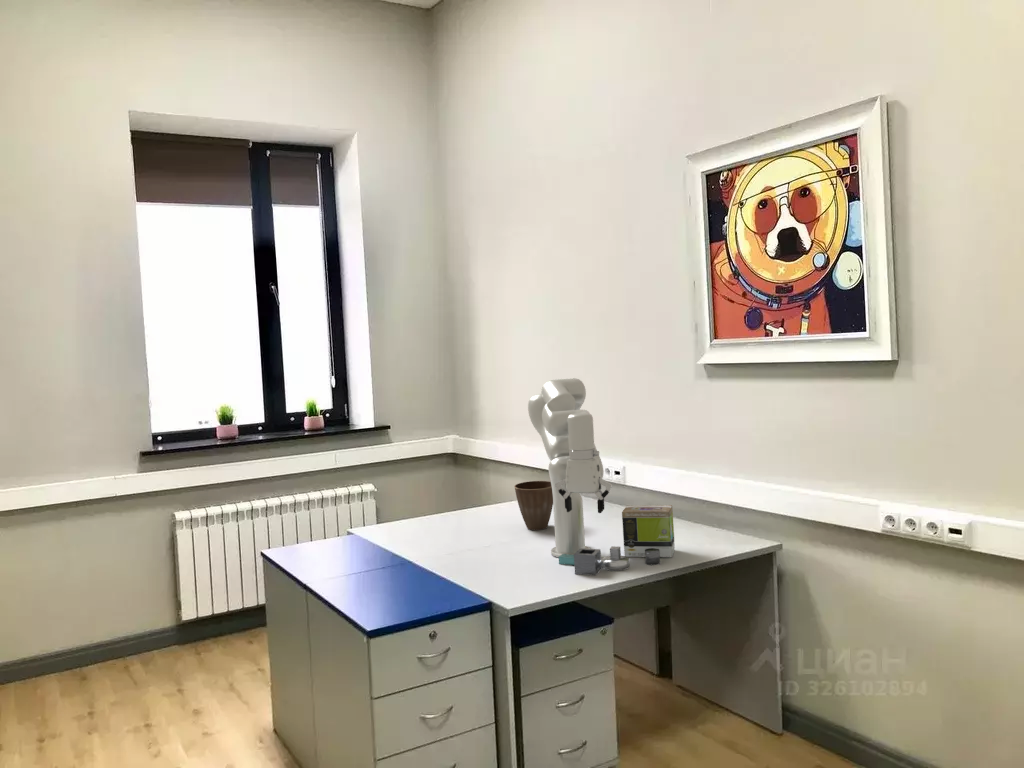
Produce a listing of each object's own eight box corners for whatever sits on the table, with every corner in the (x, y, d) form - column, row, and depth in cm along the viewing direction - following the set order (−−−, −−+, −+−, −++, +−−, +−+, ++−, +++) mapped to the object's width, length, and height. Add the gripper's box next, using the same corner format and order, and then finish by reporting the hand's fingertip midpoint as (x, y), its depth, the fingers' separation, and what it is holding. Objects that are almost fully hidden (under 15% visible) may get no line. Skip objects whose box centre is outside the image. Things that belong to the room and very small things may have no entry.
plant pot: (558, 531, 299) (555, 487, 298) (516, 534, 299) (514, 490, 298) (556, 521, 314) (554, 479, 312) (517, 524, 314) (514, 482, 313)
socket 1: (580, 567, 254) (579, 548, 253) (601, 568, 252) (600, 549, 251) (574, 574, 248) (573, 554, 248) (595, 575, 246) (594, 555, 245)
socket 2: (647, 560, 258) (646, 547, 257) (661, 561, 256) (660, 548, 256) (644, 564, 254) (643, 551, 253) (658, 565, 252) (657, 552, 252)
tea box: (675, 549, 268) (673, 504, 267) (672, 558, 258) (669, 511, 257) (628, 548, 272) (626, 504, 271) (623, 557, 263) (621, 511, 261)
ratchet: (632, 564, 255) (631, 545, 254) (624, 571, 247) (623, 552, 247) (565, 558, 264) (564, 540, 264) (556, 566, 257) (555, 547, 257)
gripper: (613, 452, 247) (616, 509, 249) (558, 452, 254) (561, 507, 255) (607, 457, 240) (609, 515, 242) (550, 456, 247) (553, 513, 248)
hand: (584, 511), depth 248 cm, fingers open, 9 cm apart
